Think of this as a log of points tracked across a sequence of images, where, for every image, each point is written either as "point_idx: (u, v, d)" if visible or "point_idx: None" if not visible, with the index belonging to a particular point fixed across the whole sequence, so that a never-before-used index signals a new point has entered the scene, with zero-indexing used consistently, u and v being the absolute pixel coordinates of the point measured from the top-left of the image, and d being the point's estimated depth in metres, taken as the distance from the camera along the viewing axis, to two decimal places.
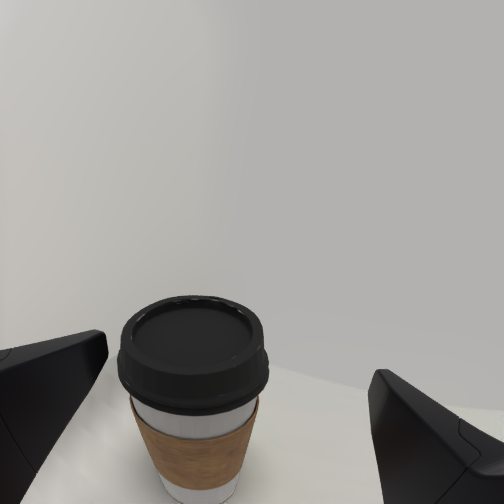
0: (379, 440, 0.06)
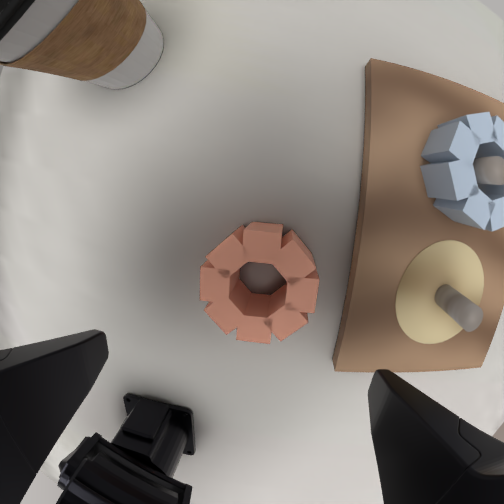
0: (379, 440, 0.06)
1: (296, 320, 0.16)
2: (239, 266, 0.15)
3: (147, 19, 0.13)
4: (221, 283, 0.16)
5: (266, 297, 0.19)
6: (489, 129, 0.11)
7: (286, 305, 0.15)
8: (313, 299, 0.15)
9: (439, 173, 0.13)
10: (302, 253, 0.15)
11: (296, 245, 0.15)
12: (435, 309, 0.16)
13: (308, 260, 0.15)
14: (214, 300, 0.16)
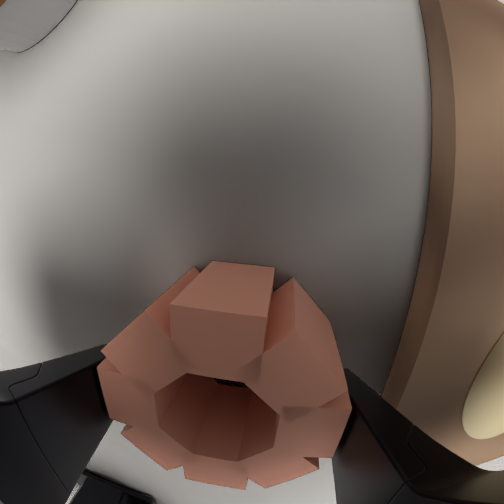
0: None
1: (295, 466, 0.06)
2: (170, 379, 0.06)
3: None
4: (140, 402, 0.06)
5: (242, 397, 0.09)
6: None
7: (276, 448, 0.06)
8: (334, 439, 0.06)
9: None
10: (318, 362, 0.06)
11: (304, 345, 0.05)
12: None
13: (331, 376, 0.06)
14: (134, 424, 0.07)
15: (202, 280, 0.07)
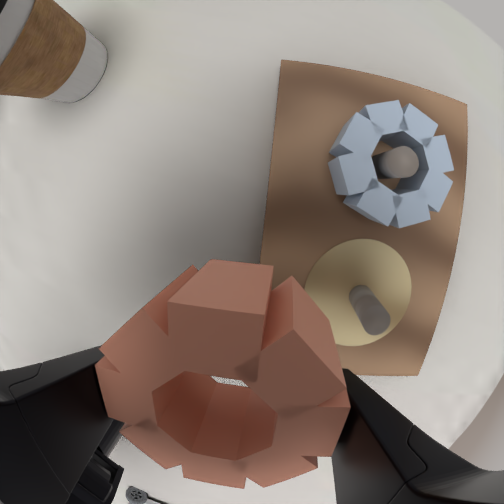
0: None
1: (293, 465, 0.06)
2: (167, 377, 0.06)
3: (87, 42, 0.14)
4: (138, 400, 0.06)
5: (241, 396, 0.09)
6: (397, 118, 0.12)
7: (274, 447, 0.06)
8: (332, 438, 0.06)
9: (336, 168, 0.14)
10: (316, 360, 0.06)
11: (302, 343, 0.05)
12: (351, 310, 0.18)
13: (329, 374, 0.06)
14: (132, 422, 0.07)
15: (200, 278, 0.07)
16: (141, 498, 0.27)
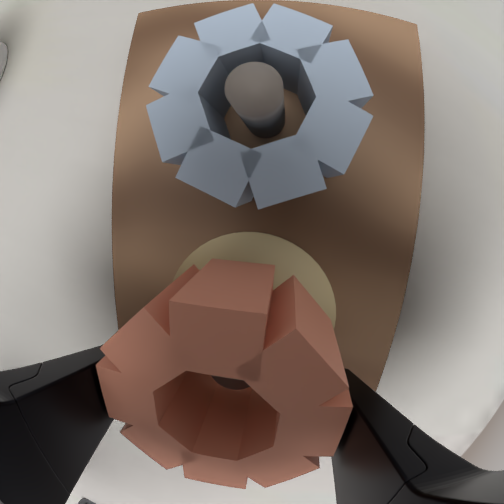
0: None
1: (295, 465, 0.06)
2: (169, 377, 0.06)
3: None
4: (139, 400, 0.06)
5: (243, 396, 0.09)
6: (247, 28, 0.07)
7: (276, 447, 0.06)
8: (334, 438, 0.06)
9: None
10: (318, 359, 0.05)
11: (304, 342, 0.05)
12: None
13: (332, 373, 0.06)
14: (133, 423, 0.07)
15: (202, 277, 0.07)
16: None
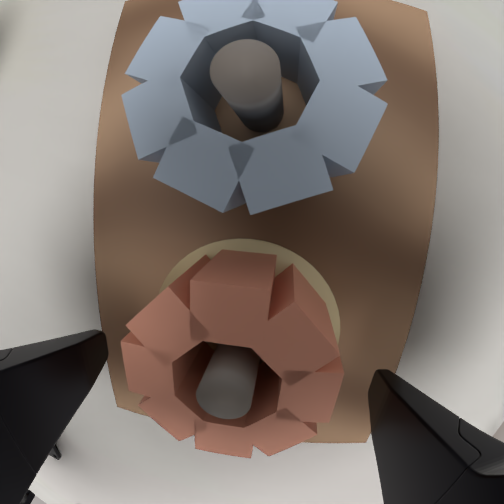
0: (379, 440, 0.06)
1: (296, 432, 0.08)
2: (187, 348, 0.07)
3: None
4: (159, 372, 0.08)
5: None
6: (239, 4, 0.05)
7: (279, 413, 0.08)
8: (329, 403, 0.07)
9: None
10: (313, 329, 0.07)
11: (301, 313, 0.07)
12: None
13: (325, 341, 0.07)
14: (152, 395, 0.08)
15: (215, 263, 0.08)
16: None
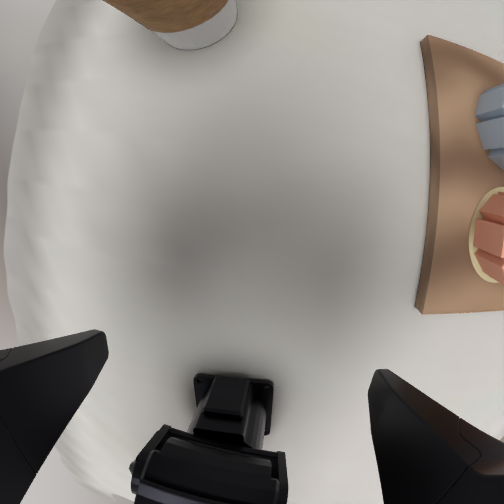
0: (379, 440, 0.06)
1: None
2: None
3: None
4: None
5: None
6: None
7: None
8: None
9: (495, 126, 0.12)
10: None
11: None
12: None
13: None
14: None
15: None
16: None
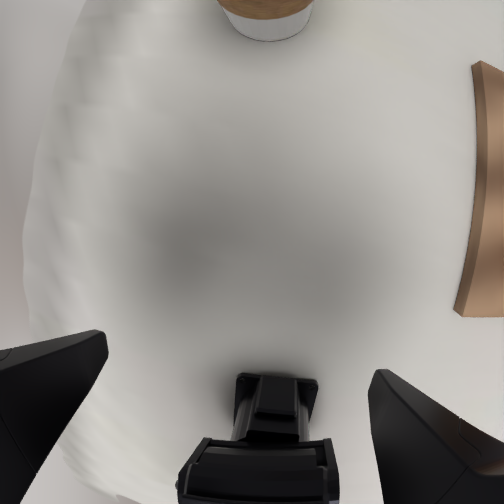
0: (379, 440, 0.06)
1: None
2: None
3: None
4: None
5: None
6: None
7: None
8: None
9: None
10: None
11: None
12: None
13: None
14: None
15: None
16: None
